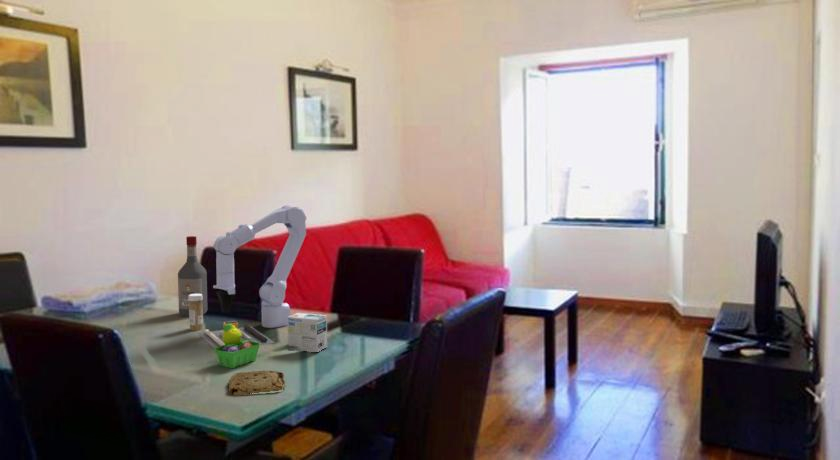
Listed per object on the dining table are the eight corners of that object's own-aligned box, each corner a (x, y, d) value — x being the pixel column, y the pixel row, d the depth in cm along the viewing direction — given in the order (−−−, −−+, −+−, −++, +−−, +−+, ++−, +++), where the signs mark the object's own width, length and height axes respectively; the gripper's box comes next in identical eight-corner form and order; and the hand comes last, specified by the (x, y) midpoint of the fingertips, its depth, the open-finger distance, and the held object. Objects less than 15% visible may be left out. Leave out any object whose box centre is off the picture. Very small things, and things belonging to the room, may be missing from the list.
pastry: (208, 390, 160) (208, 378, 160) (259, 372, 175) (259, 361, 174) (256, 404, 151) (256, 392, 151) (305, 383, 165) (305, 372, 165)
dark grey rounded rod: (247, 327, 215) (247, 323, 215) (267, 341, 198) (267, 337, 198) (243, 328, 214) (242, 324, 214) (263, 342, 197) (263, 338, 197)
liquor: (200, 316, 237) (198, 238, 234) (176, 316, 237) (174, 237, 234) (209, 311, 246) (207, 235, 243) (186, 310, 246) (184, 235, 243)
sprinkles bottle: (205, 333, 212) (204, 294, 211) (191, 335, 210) (190, 296, 208) (201, 330, 216) (200, 292, 215) (187, 332, 214) (186, 294, 212)
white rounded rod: (208, 332, 208) (208, 328, 208) (226, 347, 191) (226, 343, 190) (204, 333, 207) (204, 329, 207) (221, 348, 190) (221, 344, 190)
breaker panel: (251, 330, 217) (250, 323, 217) (275, 347, 197) (275, 339, 197) (197, 337, 207) (197, 330, 207) (217, 356, 187) (217, 347, 187)
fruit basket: (231, 370, 174) (230, 331, 173) (210, 365, 179) (209, 326, 178) (261, 360, 184) (261, 322, 183) (241, 355, 189) (240, 318, 188)
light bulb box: (327, 348, 197) (327, 314, 196) (317, 353, 191) (317, 319, 190) (298, 344, 201) (297, 311, 200) (287, 350, 194) (286, 316, 193)
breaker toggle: (235, 332, 209) (235, 319, 208) (238, 334, 206) (238, 321, 206) (223, 334, 206) (223, 321, 206) (226, 336, 204) (226, 323, 203)
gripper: (207, 269, 212) (208, 309, 214) (219, 276, 200) (220, 317, 202) (228, 268, 216) (228, 306, 217) (241, 274, 204) (241, 315, 205)
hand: (226, 311), depth 210 cm, fingers closed
